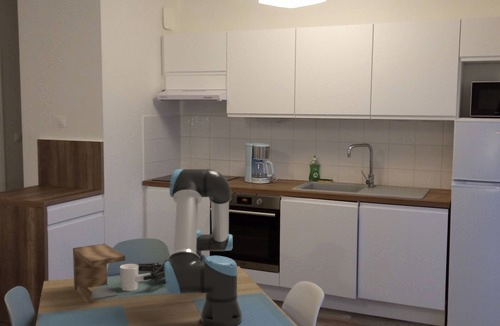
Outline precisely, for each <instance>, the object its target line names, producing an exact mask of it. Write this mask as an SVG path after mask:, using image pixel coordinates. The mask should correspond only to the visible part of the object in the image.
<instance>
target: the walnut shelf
mask: <svg viewBox="0 0 500 326" xmlns="http://www.w3.org/2000/svg"><path fill="white" fill-rule="evenodd" d="M72 258H73V259H72V260H73V261H72V262H73V290H75V291H77V294H78V295H79V296H80V297H81V298H82V297H83V298H82V299H83V300H85V301H86V302H87V303H88V304H89V303H93V301H94V300H93V299H92V292H91V291H90V290H91V289H89V288H88V287H90V288H95V287H94V286H96V287H100V285H101V286H105V285H108V269H107V268H108V266H107V265H108V264H114V263H119V262H124V261H126V255H125V254H123V253H121V252H120V251H118V250H116V249H115V248H112V247H111V246H109V245H108V244H107V243H100V244H92V245H87V246H86V245H85V246H77V247H73V248H72Z"/></svg>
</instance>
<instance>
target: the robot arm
mask: <svg viewBox="0 0 500 326" xmlns="http://www.w3.org/2000/svg"><path fill="white" fill-rule="evenodd" d="M169 184H170V186H169V196H170V197H171V198H172V200H173V202H174V203H176V206H175V220H174V221H175V222H174V223H175V224H174V236H173V237H174V239H173V253H171V254H170V255H169V256H168V259H166V260H164V261H163V263H162V264H161V263H159V262H154V263H153V262H151V263H150V262H149V263H136V264H137V265H138V266H139V269H138V273H139V272H148V273H144V274H138V275H137V276H135V282H138V283H141V282H147V281H154V282H156V281H159V280H161V279H165V285H166V291H167V292H168V294H169V293H170V294H172V295H173V294H175V295H176V294H178V295H182V294H183V295H186V294H187V295H189V294H190V295H191V294H205V300H204V304H203V307H202V310H201V313H200V322H201V324H203V325H204V326H238V325H239V324H240V323H242V321H243V314H242V310H241V307H240V304H239V300H238V274H239V273H238V264H237V263H236V261H235V260H234V259H232V258H229V257H227V256H221V255H209V256H207V257H206V256H205V255H204V254H203V253H202V252H207V251H208V252H212V251H213V252H225V251H232V249H233V248H234V247H233V246H234V245H233V237H234V236H233V234H230V232H229V231H230V230H229V228H230V227H229V226H230V225H229V224H230V221H229V220H230V218H229V217H230V216H229V214H230V212H229V210H230V201H231V199H232V188H231V185H230V182H229V181H228V180H227V178H226V177H225V176H224V175H223V174H222V173H221V172H219V171H217V170H216V169H212V168H206V169H204V168H199V169H197V168H196V169H192V168H191V169H190V168H181V169H180V168H179V169H175V170H173V171H172V174H171V176H170V183H169ZM203 198H208V199H209V201H210V203H211V204H210V206H211V207H210V208H211V234H210V233H209V234H203V233H202V230H199V229H198V216H199V215H198V211H199V210H198V209H199V204H200V203H201V202H202V199H203Z"/></svg>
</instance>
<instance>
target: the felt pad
mask: <svg viewBox="0 0 500 326" xmlns="http://www.w3.org/2000/svg"><path fill="white" fill-rule="evenodd" d="M89 290H90V291H91V292H92V299H93V301H98V300H101V299H107V298H112V297H117V296H118V295H119V294H118V293H116V292H115V291H114V290H113V289H111V288H110V287H109V286H108V287H107V286H106V287H102V288H96V289H89Z"/></svg>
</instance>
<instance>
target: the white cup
mask: <svg viewBox="0 0 500 326" xmlns="http://www.w3.org/2000/svg"><path fill="white" fill-rule="evenodd" d="M137 264H138V263H126V264H121V265H120V266H119V272H120V273H119V274H120V285H121V291H124V292H133V291H136V290H138V286H139V285H138V283H139V282H135V276H137V275H139V272H138V269H139V266H138V265H137Z"/></svg>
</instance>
